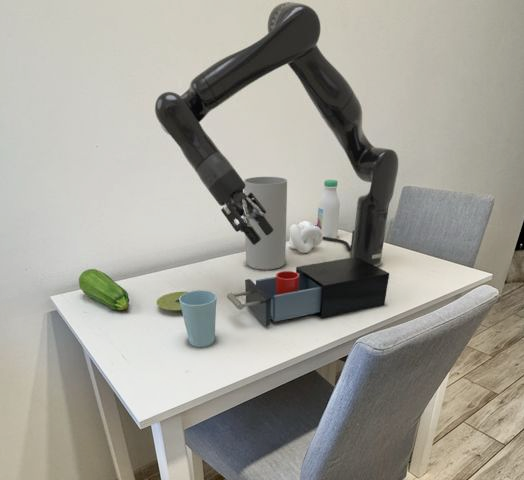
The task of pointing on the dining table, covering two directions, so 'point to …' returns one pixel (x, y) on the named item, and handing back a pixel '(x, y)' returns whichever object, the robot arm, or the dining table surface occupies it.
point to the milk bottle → (329, 210)
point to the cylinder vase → (275, 203)
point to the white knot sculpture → (305, 236)
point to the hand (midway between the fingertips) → (264, 237)
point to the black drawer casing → (347, 285)
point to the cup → (199, 316)
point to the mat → (170, 301)
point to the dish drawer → (279, 299)
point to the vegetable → (103, 289)
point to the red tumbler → (287, 282)
